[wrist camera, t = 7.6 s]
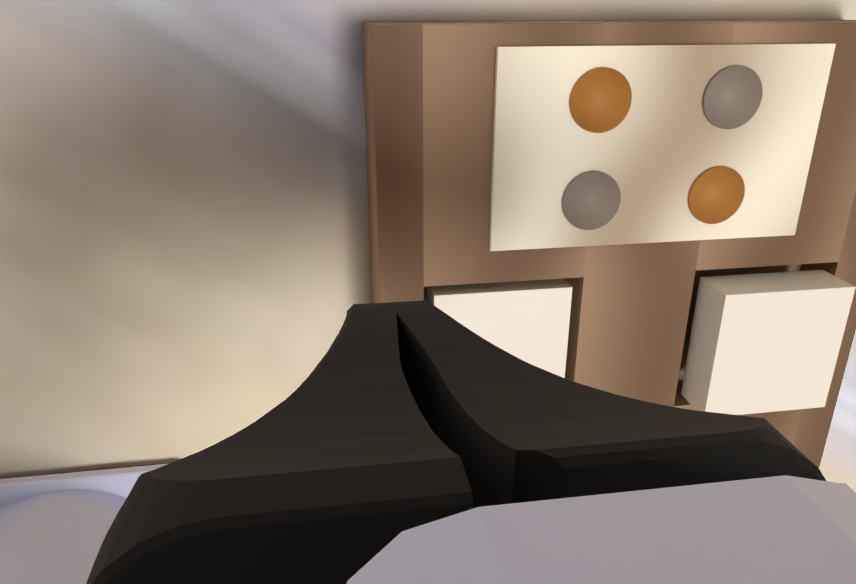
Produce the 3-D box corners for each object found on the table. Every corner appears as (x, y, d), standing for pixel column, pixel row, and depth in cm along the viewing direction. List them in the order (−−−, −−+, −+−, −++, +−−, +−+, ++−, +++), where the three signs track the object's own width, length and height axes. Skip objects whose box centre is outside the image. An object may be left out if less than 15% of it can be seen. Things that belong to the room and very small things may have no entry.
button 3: (426, 394, 22) (434, 418, 21) (426, 277, 20) (434, 295, 19) (547, 384, 22) (562, 407, 21) (556, 269, 21) (572, 287, 20)
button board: (383, 642, 28) (393, 731, 25) (362, 21, 19) (373, 25, 16) (718, 597, 31) (770, 673, 27) (843, 20, 21) (947, 22, 18)
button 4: (681, 394, 22) (703, 418, 21) (700, 276, 20) (725, 295, 19) (795, 384, 22) (825, 406, 21) (822, 269, 21) (855, 286, 20)
